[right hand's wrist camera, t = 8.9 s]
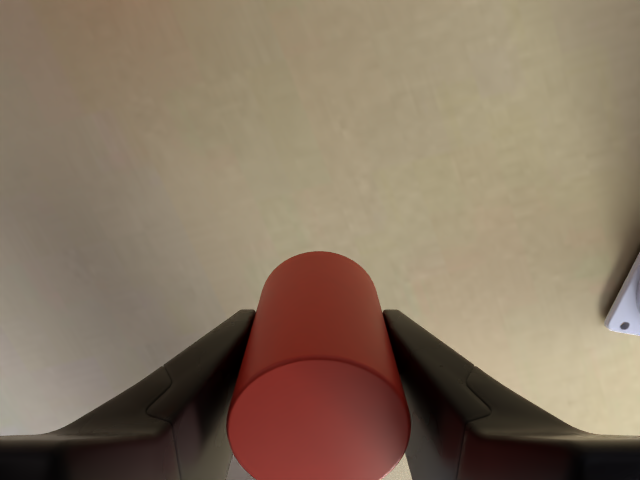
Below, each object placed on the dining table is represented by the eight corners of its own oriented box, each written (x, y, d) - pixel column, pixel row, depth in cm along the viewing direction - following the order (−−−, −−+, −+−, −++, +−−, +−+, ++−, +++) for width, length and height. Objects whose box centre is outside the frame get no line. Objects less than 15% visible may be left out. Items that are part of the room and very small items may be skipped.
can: (336, 227, 11) (347, 322, 7) (398, 317, 12) (445, 453, 8) (237, 290, 12) (186, 414, 8) (304, 370, 13) (296, 523, 9)
